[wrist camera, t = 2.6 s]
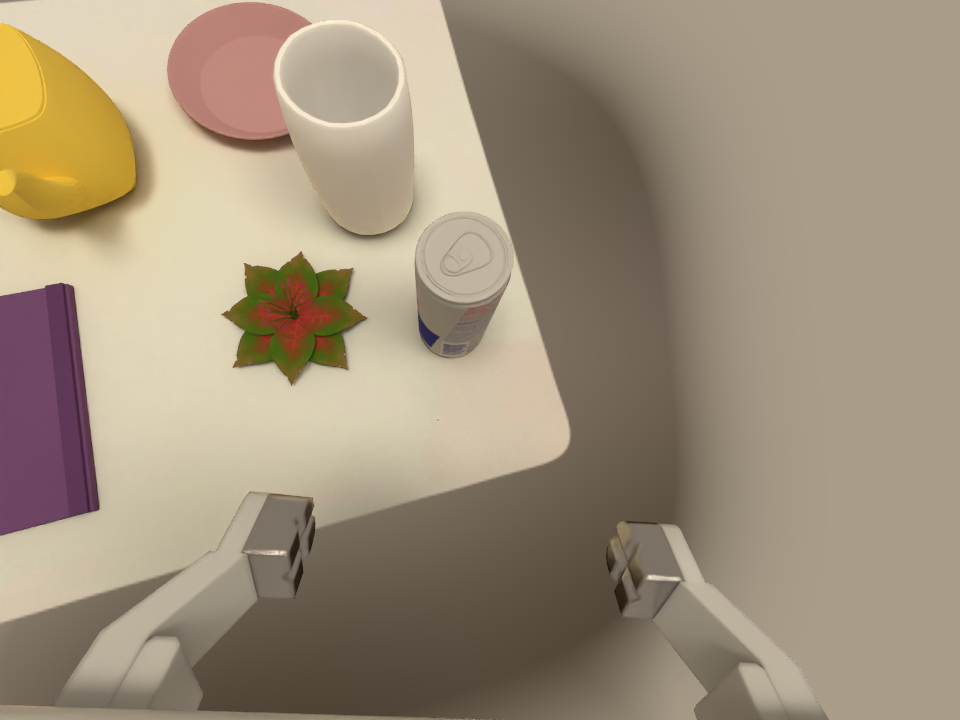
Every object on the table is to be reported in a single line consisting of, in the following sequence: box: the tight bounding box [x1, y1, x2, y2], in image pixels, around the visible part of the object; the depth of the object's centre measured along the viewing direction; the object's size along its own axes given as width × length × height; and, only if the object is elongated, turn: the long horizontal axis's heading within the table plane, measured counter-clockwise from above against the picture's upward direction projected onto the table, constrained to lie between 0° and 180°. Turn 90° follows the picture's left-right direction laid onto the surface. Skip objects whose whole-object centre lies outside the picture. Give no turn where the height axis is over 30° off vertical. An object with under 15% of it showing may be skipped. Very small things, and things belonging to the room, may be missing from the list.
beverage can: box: [415, 212, 513, 358], centre depth 31 cm, size 6×6×15 cm
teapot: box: [0, 23, 136, 219], centre depth 32 cm, size 18×11×11 cm, turn 26°
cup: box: [273, 20, 414, 235], centre depth 33 cm, size 8×8×14 cm
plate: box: [167, 2, 312, 140], centre depth 40 cm, size 14×14×2 cm
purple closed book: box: [0, 283, 99, 535], centre depth 33 cm, size 18×10×1 cm, turn 15°
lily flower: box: [221, 252, 367, 386], centre depth 35 cm, size 12×12×5 cm
